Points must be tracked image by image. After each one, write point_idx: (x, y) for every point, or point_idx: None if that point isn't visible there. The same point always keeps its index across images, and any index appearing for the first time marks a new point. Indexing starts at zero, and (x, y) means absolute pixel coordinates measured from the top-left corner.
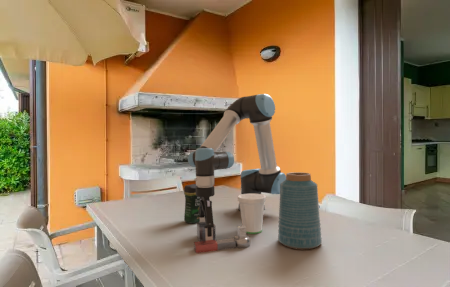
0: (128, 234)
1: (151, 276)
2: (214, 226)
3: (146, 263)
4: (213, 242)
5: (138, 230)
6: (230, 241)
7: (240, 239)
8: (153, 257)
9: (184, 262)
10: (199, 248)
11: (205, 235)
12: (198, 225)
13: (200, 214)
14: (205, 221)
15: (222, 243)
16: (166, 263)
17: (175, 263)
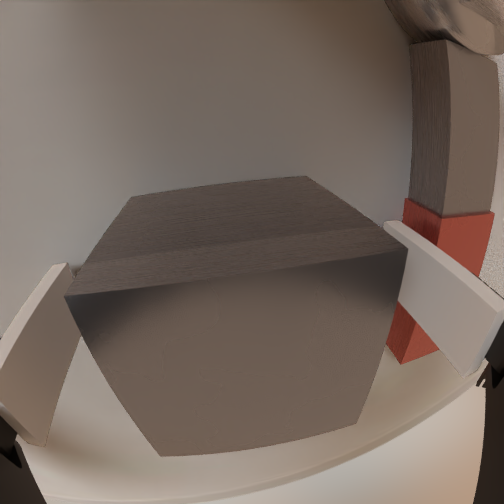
0: (131, 496)
1: (466, 389)
2: (398, 259)
3: (400, 429)
4: (474, 240)
5: (88, 484)
6: (490, 97)
7: (502, 27)
8: (372, 433)
9: None
10: None
11: (418, 322)
12: (279, 443)
13: (40, 492)
14: (493, 425)
15: (494, 171)
16: (436, 389)
17: (453, 366)
